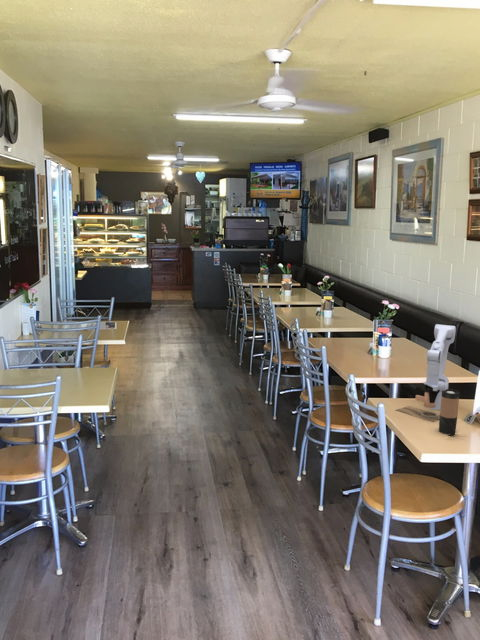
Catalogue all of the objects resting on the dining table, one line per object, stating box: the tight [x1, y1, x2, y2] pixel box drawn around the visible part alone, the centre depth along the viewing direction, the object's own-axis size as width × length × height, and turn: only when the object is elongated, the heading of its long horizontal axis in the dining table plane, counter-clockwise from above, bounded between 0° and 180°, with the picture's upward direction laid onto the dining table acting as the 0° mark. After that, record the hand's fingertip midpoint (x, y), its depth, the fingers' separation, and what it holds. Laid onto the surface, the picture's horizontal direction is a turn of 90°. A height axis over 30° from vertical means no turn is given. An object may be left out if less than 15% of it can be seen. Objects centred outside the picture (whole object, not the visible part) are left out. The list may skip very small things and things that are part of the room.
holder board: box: [394, 405, 440, 423], centre depth 304 cm, size 12×22×2 cm, turn 40°
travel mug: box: [438, 388, 460, 437], centre depth 279 cm, size 8×8×20 cm
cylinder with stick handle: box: [414, 391, 436, 409], centre depth 301 cm, size 10×5×6 cm, turn 43°
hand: (430, 401), depth 299 cm, fingers closed on cylinder with stick handle, 5 cm apart
